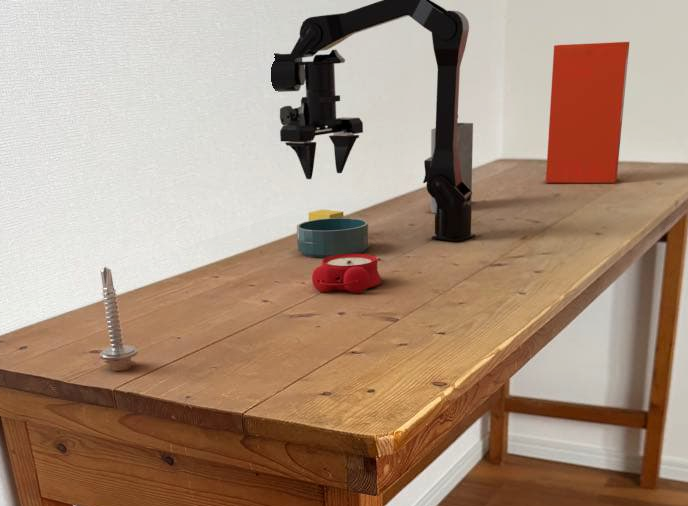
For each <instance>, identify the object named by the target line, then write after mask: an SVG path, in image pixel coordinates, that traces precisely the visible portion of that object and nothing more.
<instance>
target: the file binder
mask: <svg viewBox="0 0 688 506" xmlns="http://www.w3.org/2000/svg"><path fill="white" fill-rule="evenodd" d="M629 50H630V41H617V42H616V41H615V42H614V41H613V42H595V43H594V42H593V43H575V44H574V43H572V44H556V45H553V59H552V71H551V72H552V73H551V74H552V75H551V87H550V88H551V89H550V105H549V120H548V121H549V122H548V141H547V155H546V172H545V173H546V174H545V183H546V184H615V183H616V181H617V180H618V179H617V178H618V170H619V160H620V149H621V148H620V146H621V137H622V126H623V116H624V106H625V105H624V104H625V94H626V84H627V73H628V64H629V53H630V51H629Z"/></svg>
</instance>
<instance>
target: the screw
mask: <svg viewBox="0 0 688 506" xmlns="http://www.w3.org/2000/svg"><path fill="white" fill-rule="evenodd" d="M99 272H100V278H101V285H102V288H101V290H102V293H101V295H102V296H103V298H102V300H103V301H104V302H103V303H102V304H103V305H104V310H105V312H104V314H105V315H106V316H105V317H104V318H105V319H106V323H107V326H106V328H107V329H108V330H107V332H108V335H107V336H108V337H109V339H108V341H109V342H110V343H109V347H105V348H104V349H102V350H101V351H100V353H99V358H100V359H101V360H104V361H107V362H108V365H109V370H111V371H115V372H120V371H121V372H122V371H127V370H129V369H130V368H131V367H132V360H131V359H132V358H134V357H136V356H137V355H138V349H137V348H135V347H134V346H132V345H127V344H124V342H125V340H124V339H123V338H124V335H123V332H124V331H123V330H122V329H123V327H122V322H121V321H120V320H121V317H120V314H121V313H120V312H119V311H120V308H119V307H118V306H119V303H118V298H117V297H118V294H117V293H116V292H117V289H116V288H115V286H114V281H113V275H112V269H111V268H108V267H107V266H104V267H103V268H101V270H100V271H99Z"/></svg>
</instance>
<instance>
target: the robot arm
mask: <svg viewBox="0 0 688 506" xmlns="http://www.w3.org/2000/svg"><path fill="white" fill-rule="evenodd" d="M406 17H410V18H411V19H413V20H414V21H415V22H416V23H418V24H419V25H420V26H422V28H424V29H426V30H427V31H429V32H430V33H431V39H432V47H433V53H434V57H435V62H436V66H437V75H436V77H437V79H436V106H435V108H436V109H435V111H436V112H435V128H436V131H435V150H434V154H433V157H431V156H429V157H427V158H426V159H425V160H424V161H423V162H424V163H423V164H424V165H423V166H424V179H423V181H422V184H426V191H427V193H428V194H429V195H430V197H431V196H432V197H433V198H435V200H436V203H437V213H434V235H432V236H431V240H436V241H437V240H439V241H447V242H456V243H457V242H461V241H464V240H468V239H472V238H475V237H476V233H472V210H473V209H472V205H471V204H467V203H468V202H469V201H470V198H471V199H472V195H473V190H472V191H471V190H470V189H469V188H468V187H467V186H466V184H465V183H464V182H463V181H462V178H461V169H460V161H459V157H458V153H457V147H456V142H457V123H458V119H459V98H460V97H459V95H460V78H461V77H460V73H461V64H462V61H463V57H464V54H465V51H466V46H467V41H468V36H469V31H470V23H469V19H468V18H467V17H466V16H465V14H464V13H463V12H461V11H459V10H458V11H457V10H447V9H446V8H444V7H443V6H441V5H439V4H438V3H436V2H434V1H432V0H379V1H376V2H373V3H369V4H367V5H365V6H361V7H359V8H358V7H357V8H355V9H353V10H350V11H347V12H342V13H334V14H325V15H324V14H323V15H316V16H309V17H307V18H306V19H304V20H303V22H302V24H301V25H300V28H299V37H298V39H297V41H296V43H295V44H294V46H293V48H292V50H291V52H290V53H279V52H273V53H274V55H275V57H274V58H275V61H274V62H273V64H272V67H271V82H272V86H273V88H274V89H275V91H278V92H277V93H283V92H285V93H286V92H299V91H300V90H301V87H302V86H304V85H305V96H302V97H301V99H300V106H298V107H294V108H293V107H292V105H285V106H282V107H280V108H279V120H280V124H281V125H282V126H281V128H280V130H279V137H280V142H284V143H285V146H287V147H290V148H291V149H292V150H293V151H294V152H295V154H296V156H297V158H298V160H299V163H300V165H301V169H302V171H303V173H304V176H305V179H306V180H312V178H313V173H314V165H315V158H316V150H317V141H314V140H315V137H316V136H322V135H328V134H329V135H328V138H329V139H330V141H331V143H332V144H333V147H334V148H333V150H334V162H335V170H336V173H337V174H342V173H343V171H344V170H345V169H344V168H345V166H346V163H347V161H348V158H349V156H350V154H351V151H352V150H353V147H354V145H355V142H356V141H357V139H359V138H360V135H359V134H362V133H364V122H363V121H362V120H361V118H360V117H347V116H346V117H344V116H343V117H342V116H341V117H337V102H341V95H339V94H336V74H335V64H337V65H338V64H344V63H345V62H346V59H345V58H344V57H343V56H342V55H341V54H340V53H339V51H338V50H337V49H332V48H333V47H335V46H337V45H338V44H340V43H342V42H343V41H345V40H347V39H348V38H350V37H352V36H353V35H355V34H358V33H361V32H364V31H367V30H370V29H372V28H376V27H379V26H382V25H385V24H388V23H391V22H394V21H396V20H400V19H404V18H406ZM330 49H331V51H330V52H329V53H327V54H318V53H319V52H322V51H328V50H330ZM311 57H313V58H312V60H309V61H303V58H311ZM330 134H331V135H330Z"/></svg>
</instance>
